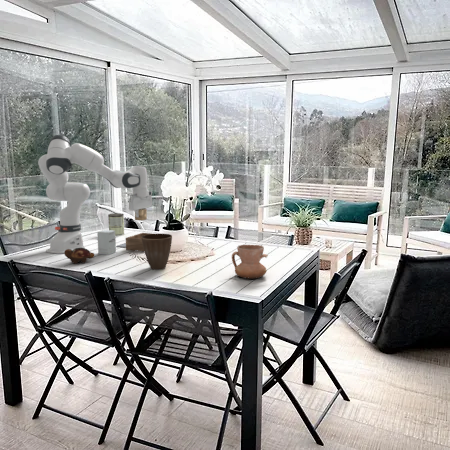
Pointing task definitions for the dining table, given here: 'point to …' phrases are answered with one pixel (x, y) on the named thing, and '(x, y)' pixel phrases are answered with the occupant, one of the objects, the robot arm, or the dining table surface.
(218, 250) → the dining table surface
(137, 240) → the walnut caddy
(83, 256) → the decorative turtle
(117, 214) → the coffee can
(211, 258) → the dining table surface
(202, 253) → the dining table surface
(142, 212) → the oak block
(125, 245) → the rubber coaster
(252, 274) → the ceramic jug
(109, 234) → the supplement box
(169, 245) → the plant pot
